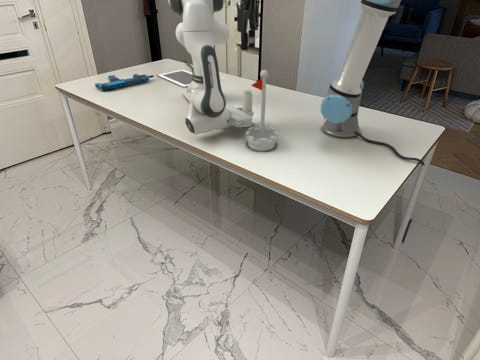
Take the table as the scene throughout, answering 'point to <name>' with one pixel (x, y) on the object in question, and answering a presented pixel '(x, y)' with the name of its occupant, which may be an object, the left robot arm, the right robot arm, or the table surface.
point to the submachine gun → (122, 81)
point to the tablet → (178, 77)
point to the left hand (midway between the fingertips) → (248, 111)
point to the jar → (247, 102)
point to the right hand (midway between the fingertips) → (248, 48)
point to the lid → (250, 39)
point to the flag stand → (262, 123)
